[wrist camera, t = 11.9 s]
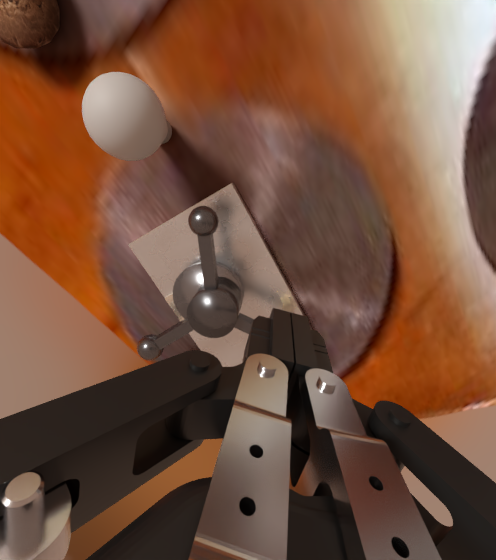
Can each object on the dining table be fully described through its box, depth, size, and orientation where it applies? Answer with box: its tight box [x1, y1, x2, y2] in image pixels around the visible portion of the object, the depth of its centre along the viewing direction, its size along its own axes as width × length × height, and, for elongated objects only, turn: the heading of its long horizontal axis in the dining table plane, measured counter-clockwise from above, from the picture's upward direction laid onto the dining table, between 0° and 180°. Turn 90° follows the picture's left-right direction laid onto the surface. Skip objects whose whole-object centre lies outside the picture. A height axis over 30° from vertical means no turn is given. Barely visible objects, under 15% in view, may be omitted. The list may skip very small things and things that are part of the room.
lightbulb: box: [82, 72, 172, 161], centre depth 25 cm, size 6×6×11 cm
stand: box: [128, 183, 312, 367], centre depth 35 cm, size 20×14×2 cm
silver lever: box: [137, 206, 254, 360], centre depth 31 cm, size 18×16×6 cm
